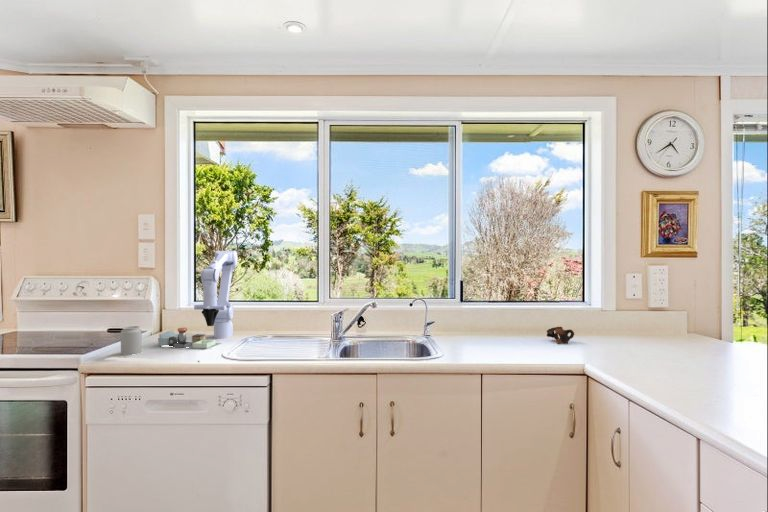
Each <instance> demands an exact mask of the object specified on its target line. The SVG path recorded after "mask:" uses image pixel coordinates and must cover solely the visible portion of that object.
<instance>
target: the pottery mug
mask: <svg viewBox="0 0 768 512" xmlns="http://www.w3.org/2000/svg"><path fill="white" fill-rule="evenodd" d="M569 334H570V335H569ZM574 336H575V332H574V330H573V329H564V328H563V327H562V326H555V327H552V328H551V327H550V328H549V329H547V330H546V337H548V338H552V339H555V341H556V344H557V345H561V344H569V342H570V340H571V339H573V338H574Z"/></svg>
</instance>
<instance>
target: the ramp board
mask: <svg viewBox="0 0 768 512" xmlns="http://www.w3.org/2000/svg"><path fill="white" fill-rule="evenodd" d="M221 344H222V342H216V345H215V346H213V347H210V348H208V349H207V350H209V349H211V348H214V347H216V346H218V345H221ZM173 347H175V348H174V349H183V348H186V347H189V348H187V349H186V350H194V349H193V346H192V341H186V344H179V342H178V343H176V344H173Z"/></svg>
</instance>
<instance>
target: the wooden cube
mask: <svg viewBox="0 0 768 512" xmlns="http://www.w3.org/2000/svg"><path fill="white" fill-rule="evenodd" d="M200 340H206V333H205V334H204V333H203V334H202V333H196V334H193V335H192V336H191V342H192V343H195V342H198V341H200Z"/></svg>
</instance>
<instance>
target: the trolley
mask: <svg viewBox="0 0 768 512" xmlns="http://www.w3.org/2000/svg"><path fill="white" fill-rule="evenodd" d="M158 336H159V337H158V338H157V340H158V341H157V342H158V346H161V345H169V346H173V344H176V343H177V342H179V333H175V330H170V331H166V332H162V333H159V335H158Z"/></svg>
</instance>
